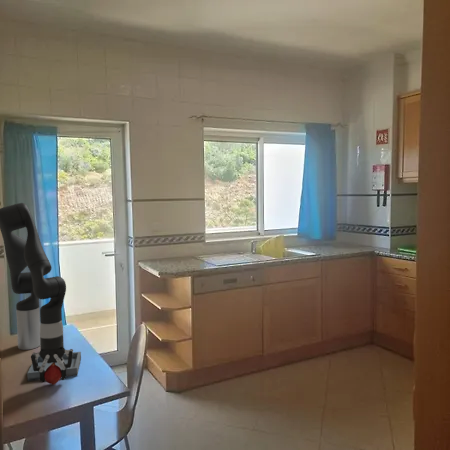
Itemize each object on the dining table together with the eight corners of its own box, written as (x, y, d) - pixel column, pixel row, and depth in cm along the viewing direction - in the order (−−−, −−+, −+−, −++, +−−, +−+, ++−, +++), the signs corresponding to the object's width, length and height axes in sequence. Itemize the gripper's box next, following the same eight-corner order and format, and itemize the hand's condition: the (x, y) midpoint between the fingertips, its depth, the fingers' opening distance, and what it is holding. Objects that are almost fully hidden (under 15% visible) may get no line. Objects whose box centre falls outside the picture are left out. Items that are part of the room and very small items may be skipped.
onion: (45, 389, 144) (44, 367, 144) (44, 383, 150) (43, 361, 149) (63, 386, 147) (62, 363, 147) (61, 379, 152) (60, 358, 152)
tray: (36, 363, 168) (36, 355, 167) (81, 358, 172) (80, 351, 172) (27, 381, 151) (27, 373, 151) (77, 375, 155) (77, 367, 155)
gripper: (74, 328, 152) (75, 373, 154) (31, 332, 149) (33, 378, 150) (72, 335, 145) (73, 382, 146) (27, 339, 142) (29, 387, 143)
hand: (53, 380), depth 148 cm, fingers closed on onion, 6 cm apart
